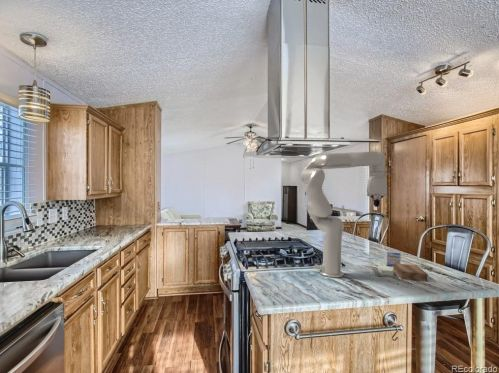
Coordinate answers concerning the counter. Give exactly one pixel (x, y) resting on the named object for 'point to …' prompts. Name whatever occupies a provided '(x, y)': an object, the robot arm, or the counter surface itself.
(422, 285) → the counter surface
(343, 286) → the counter surface
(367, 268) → the counter surface
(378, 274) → the mat
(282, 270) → the counter surface
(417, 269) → the brown curved piece
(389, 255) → the medicine box
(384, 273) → the card
